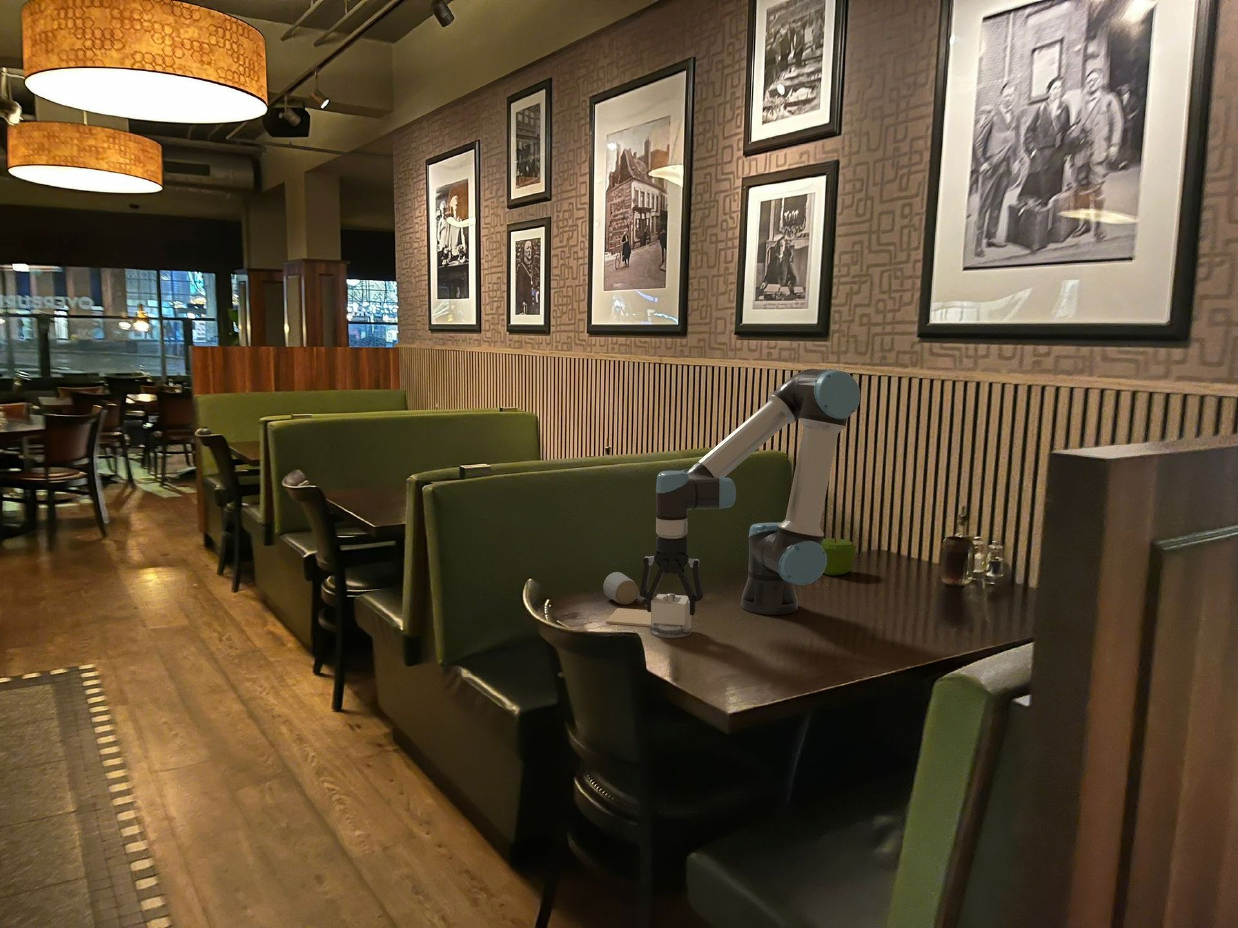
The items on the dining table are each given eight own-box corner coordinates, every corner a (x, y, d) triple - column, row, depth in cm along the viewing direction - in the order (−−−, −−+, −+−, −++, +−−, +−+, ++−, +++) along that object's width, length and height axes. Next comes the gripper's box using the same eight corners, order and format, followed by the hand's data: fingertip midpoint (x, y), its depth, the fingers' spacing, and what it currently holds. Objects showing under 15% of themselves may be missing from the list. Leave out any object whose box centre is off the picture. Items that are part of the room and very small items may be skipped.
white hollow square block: (689, 615, 221) (690, 595, 220) (684, 625, 213) (684, 604, 213) (658, 613, 223) (658, 593, 222) (651, 622, 215) (651, 602, 215)
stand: (693, 627, 222) (694, 590, 221) (687, 640, 213) (687, 601, 211) (654, 624, 225) (654, 587, 223) (646, 636, 215) (646, 598, 214)
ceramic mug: (616, 607, 239) (617, 579, 238) (602, 600, 246) (603, 572, 246) (650, 603, 244) (651, 575, 243) (635, 596, 251) (636, 569, 250)
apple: (859, 578, 272) (860, 542, 270) (818, 578, 272) (820, 541, 270) (849, 568, 284) (850, 533, 283) (810, 568, 284) (811, 533, 283)
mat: (661, 613, 234) (661, 611, 234) (652, 626, 223) (652, 624, 223) (617, 610, 237) (617, 607, 237) (606, 623, 225) (606, 620, 225)
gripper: (716, 533, 217) (715, 624, 220) (633, 529, 222) (632, 618, 224) (712, 540, 209) (711, 633, 212) (626, 536, 214) (626, 627, 217)
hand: (671, 626), depth 218 cm, fingers closed on white hollow square block, 8 cm apart
